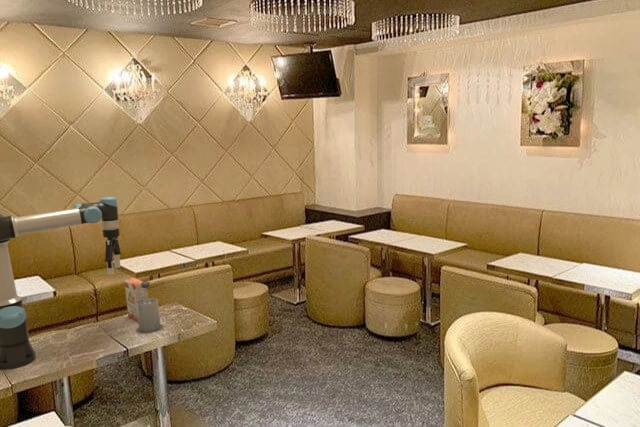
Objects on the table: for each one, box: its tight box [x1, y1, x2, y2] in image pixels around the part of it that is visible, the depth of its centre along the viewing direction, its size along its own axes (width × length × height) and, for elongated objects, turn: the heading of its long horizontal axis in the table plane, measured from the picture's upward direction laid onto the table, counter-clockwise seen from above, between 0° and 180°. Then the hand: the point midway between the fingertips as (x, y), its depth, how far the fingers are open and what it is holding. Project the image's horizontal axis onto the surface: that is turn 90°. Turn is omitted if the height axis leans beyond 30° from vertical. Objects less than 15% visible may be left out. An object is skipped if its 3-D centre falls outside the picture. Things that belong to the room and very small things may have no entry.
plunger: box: [141, 281, 153, 304], centre depth 260 cm, size 7×7×12 cm
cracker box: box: [124, 277, 146, 322], centre depth 278 cm, size 14×6×21 cm, turn 42°
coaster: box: [135, 323, 164, 335], centre depth 263 cm, size 13×13×1 cm
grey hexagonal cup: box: [136, 297, 161, 332], centre depth 262 cm, size 10×10×14 cm
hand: (114, 270), depth 262 cm, fingers open, 13 cm apart
